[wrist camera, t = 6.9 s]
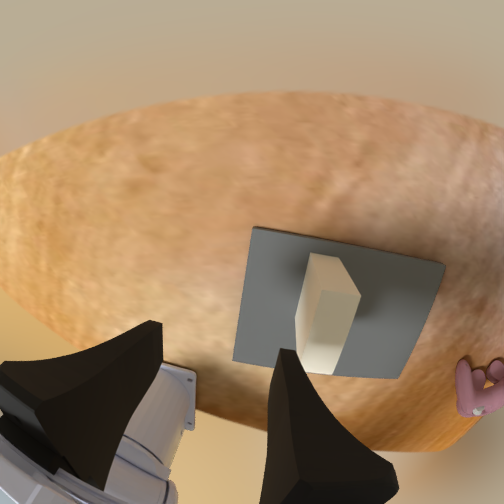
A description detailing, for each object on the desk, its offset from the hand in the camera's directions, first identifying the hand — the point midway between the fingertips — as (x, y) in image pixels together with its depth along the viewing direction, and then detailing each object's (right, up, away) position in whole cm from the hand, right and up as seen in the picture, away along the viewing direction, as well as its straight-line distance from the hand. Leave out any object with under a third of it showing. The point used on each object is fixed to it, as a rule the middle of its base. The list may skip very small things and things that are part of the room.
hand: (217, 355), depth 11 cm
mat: (+8, -1, +9) cm, 12 cm away
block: (+6, +2, +8) cm, 10 cm away
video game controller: (+27, -8, +10) cm, 30 cm away
